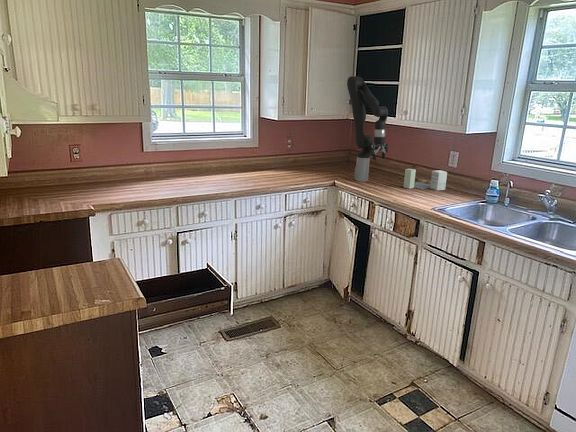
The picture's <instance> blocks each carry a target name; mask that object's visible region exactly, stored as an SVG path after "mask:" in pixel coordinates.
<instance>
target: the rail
mask: <svg viewBox="0 0 576 432" xmlns="http://www.w3.org/2000/svg"><path fill="white" fill-rule="evenodd" d="M417 182H420V183H425V184H429V185H431V180H426V179H421V178H418V180H417Z"/></svg>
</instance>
